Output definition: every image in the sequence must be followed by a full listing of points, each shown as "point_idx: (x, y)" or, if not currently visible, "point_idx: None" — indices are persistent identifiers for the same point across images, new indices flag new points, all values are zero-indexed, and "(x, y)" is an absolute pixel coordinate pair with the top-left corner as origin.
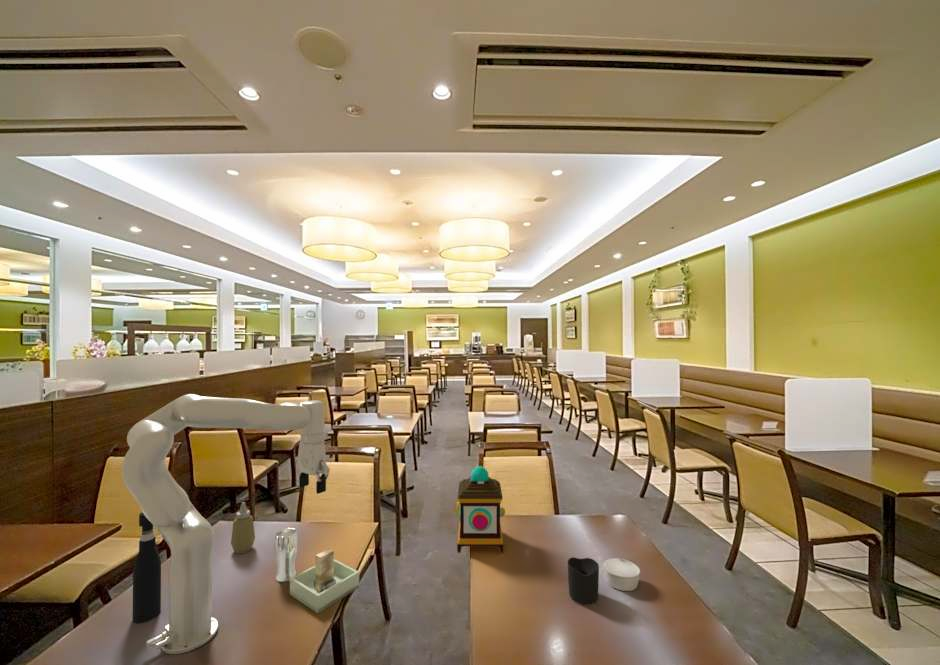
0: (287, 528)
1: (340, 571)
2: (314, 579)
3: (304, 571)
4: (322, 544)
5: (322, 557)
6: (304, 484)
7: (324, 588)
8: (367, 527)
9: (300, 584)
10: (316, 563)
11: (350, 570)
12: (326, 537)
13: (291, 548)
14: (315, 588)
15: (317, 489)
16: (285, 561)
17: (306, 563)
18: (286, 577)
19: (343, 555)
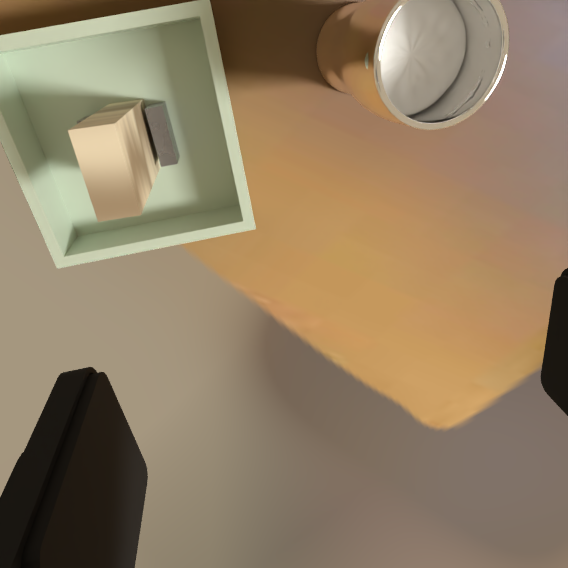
0: (488, 89)
1: (170, 224)
2: (223, 128)
3: (222, 86)
4: (459, 262)
5: (75, 147)
6: (565, 342)
7: (83, 119)
8: (427, 416)
9: (116, 18)
10: (114, 117)
11: (98, 248)
12: (492, 292)
13: (346, 63)
14: (154, 103)
15: (37, 424)
16: (342, 29)
17: (383, 160)
18: (324, 36)
19: (323, 288)
